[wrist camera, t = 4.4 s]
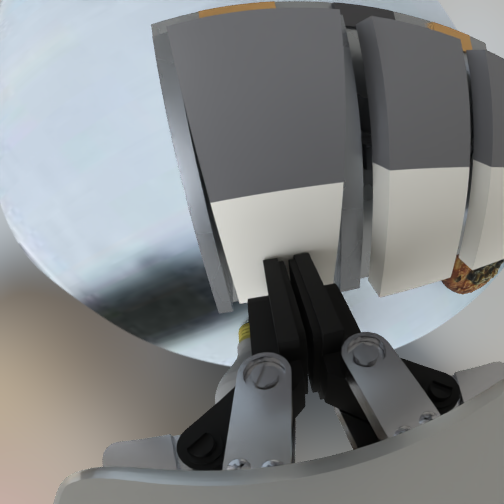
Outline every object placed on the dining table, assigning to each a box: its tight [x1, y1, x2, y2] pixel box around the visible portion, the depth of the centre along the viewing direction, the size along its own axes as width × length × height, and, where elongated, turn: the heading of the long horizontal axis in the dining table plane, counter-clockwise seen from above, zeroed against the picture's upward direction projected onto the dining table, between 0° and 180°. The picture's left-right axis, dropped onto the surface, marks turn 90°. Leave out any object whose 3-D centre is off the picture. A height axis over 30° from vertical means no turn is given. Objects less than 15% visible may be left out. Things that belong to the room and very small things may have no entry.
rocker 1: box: [166, 8, 346, 303], centre depth 8 cm, size 10×4×1 cm, turn 9°
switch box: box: [151, 2, 487, 313], centre depth 12 cm, size 14×18×8 cm
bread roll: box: [441, 254, 504, 294], centre depth 18 cm, size 11×11×5 cm
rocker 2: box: [356, 16, 471, 297], centre depth 8 cm, size 10×4×1 cm, turn 9°
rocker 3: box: [459, 50, 504, 270], centre depth 8 cm, size 10×4×1 cm, turn 9°
